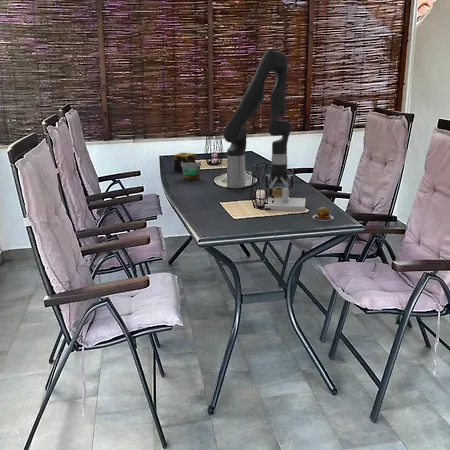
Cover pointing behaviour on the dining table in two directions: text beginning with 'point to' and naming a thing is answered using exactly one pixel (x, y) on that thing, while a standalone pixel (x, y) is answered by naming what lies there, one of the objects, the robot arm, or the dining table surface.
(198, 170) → the food container
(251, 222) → the dining table surface
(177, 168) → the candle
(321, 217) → the hamburger
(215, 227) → the dining table surface
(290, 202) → the post stand
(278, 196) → the ring
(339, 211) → the dining table surface
